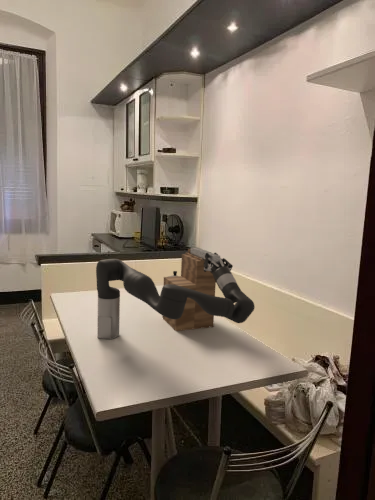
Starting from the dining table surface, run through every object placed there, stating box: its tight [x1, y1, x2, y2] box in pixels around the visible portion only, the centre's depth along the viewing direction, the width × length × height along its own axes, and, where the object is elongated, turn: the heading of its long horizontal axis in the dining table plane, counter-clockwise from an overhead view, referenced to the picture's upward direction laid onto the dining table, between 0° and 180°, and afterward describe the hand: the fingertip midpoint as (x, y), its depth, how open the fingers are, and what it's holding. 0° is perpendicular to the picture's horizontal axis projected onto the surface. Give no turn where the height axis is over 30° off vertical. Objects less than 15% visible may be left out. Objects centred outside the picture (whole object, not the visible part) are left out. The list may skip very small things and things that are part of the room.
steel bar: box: [190, 247, 221, 263], centre depth 180 cm, size 24×4×4 cm, turn 23°
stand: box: [161, 248, 217, 332], centre depth 186 cm, size 18×19×34 cm
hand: (210, 254), depth 174 cm, fingers closed on steel bar, 3 cm apart
